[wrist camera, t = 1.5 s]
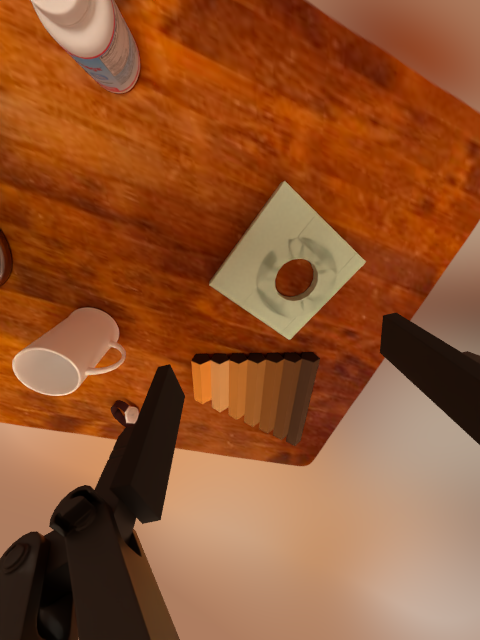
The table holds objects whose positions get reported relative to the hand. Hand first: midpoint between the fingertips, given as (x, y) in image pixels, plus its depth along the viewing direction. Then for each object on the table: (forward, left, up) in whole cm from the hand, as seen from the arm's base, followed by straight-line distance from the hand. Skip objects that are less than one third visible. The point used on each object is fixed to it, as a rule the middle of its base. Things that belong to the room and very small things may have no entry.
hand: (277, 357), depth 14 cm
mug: (-13, -25, -26) cm, 38 cm away
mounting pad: (+6, +3, -25) cm, 26 cm away
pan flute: (+20, -23, -26) cm, 40 cm away
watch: (-1, -41, -26) cm, 48 cm away
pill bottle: (-26, +9, -26) cm, 38 cm away
